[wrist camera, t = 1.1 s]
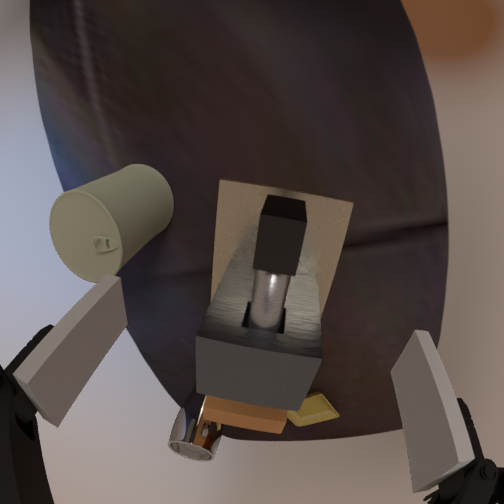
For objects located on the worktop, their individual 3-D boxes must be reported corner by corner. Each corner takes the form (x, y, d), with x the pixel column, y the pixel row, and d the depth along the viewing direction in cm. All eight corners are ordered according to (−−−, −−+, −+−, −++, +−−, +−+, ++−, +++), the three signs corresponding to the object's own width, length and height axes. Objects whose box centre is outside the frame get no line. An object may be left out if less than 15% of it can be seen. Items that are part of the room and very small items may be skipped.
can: (176, 239, 34) (127, 294, 23) (114, 233, 35) (57, 278, 24) (173, 163, 30) (111, 191, 19) (107, 164, 31) (38, 191, 20)
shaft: (267, 194, 22) (260, 213, 18) (305, 200, 22) (307, 222, 18) (236, 397, 35) (229, 427, 30) (258, 401, 34) (253, 432, 30)
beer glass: (186, 367, 45) (156, 440, 31) (219, 357, 42) (192, 439, 29) (211, 391, 47) (188, 462, 33) (243, 383, 44) (225, 461, 31)
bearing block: (222, 177, 30) (168, 223, 18) (352, 200, 29) (388, 262, 16) (210, 351, 42) (182, 426, 29) (300, 367, 41) (296, 448, 28)
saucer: (297, 418, 48) (297, 427, 46) (276, 397, 45) (275, 406, 44) (339, 407, 45) (340, 416, 43) (322, 384, 42) (322, 394, 41)
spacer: (221, 350, 35) (203, 406, 27) (291, 363, 34) (286, 422, 26) (220, 365, 37) (203, 419, 29) (286, 377, 36) (280, 433, 28)
